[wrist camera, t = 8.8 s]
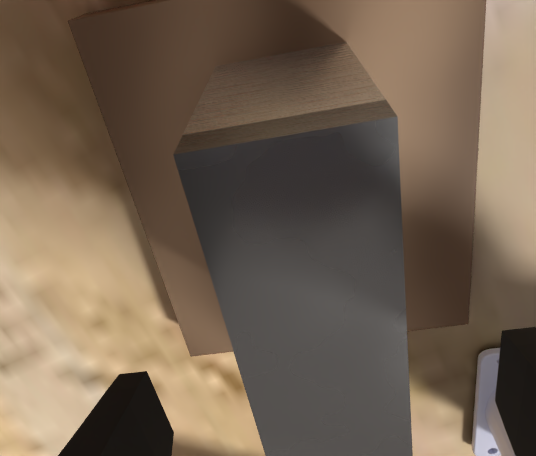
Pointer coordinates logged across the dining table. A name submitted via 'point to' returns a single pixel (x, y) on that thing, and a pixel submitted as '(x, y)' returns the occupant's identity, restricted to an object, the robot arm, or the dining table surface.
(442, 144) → the stand
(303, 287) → the block
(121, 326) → the dining table surface
